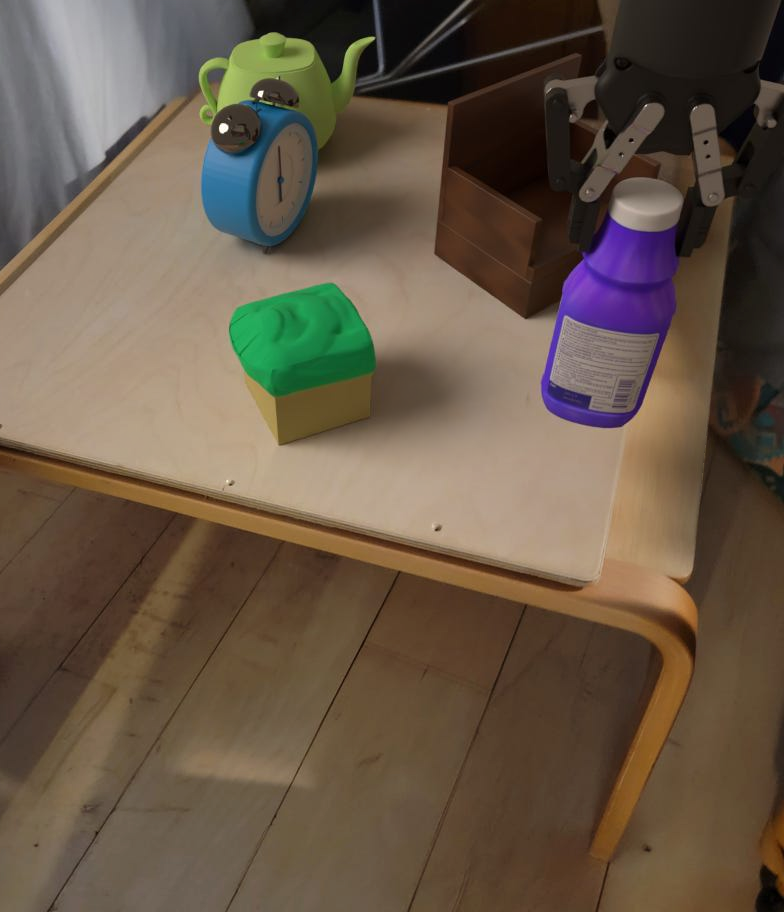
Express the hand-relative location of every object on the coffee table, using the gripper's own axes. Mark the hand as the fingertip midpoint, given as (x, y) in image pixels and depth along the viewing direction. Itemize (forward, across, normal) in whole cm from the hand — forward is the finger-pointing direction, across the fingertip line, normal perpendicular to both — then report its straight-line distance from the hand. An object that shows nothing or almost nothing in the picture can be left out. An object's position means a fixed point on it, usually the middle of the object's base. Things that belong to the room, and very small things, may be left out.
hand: (631, 246), depth 56 cm
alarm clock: (+21, -29, +31) cm, 47 cm away
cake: (+21, -22, +6) cm, 31 cm away
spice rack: (+21, -1, +29) cm, 36 cm away
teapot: (+21, -29, +49) cm, 61 cm away
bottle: (+14, 0, 0) cm, 14 cm away
